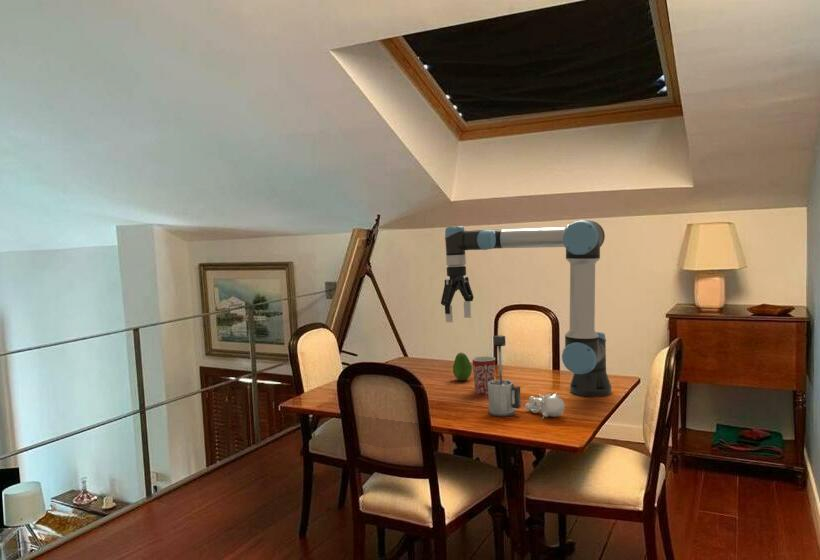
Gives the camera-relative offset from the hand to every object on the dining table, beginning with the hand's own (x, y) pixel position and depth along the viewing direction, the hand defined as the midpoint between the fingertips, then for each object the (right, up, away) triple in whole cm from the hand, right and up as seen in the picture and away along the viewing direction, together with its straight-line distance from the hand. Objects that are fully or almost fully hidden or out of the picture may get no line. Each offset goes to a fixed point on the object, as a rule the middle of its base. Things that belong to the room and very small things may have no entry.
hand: (458, 319), depth 242 cm
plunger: (+12, -21, -31) cm, 40 cm away
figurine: (+27, -30, -35) cm, 53 cm away
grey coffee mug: (+12, -30, -31) cm, 45 cm away
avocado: (+3, -27, +19) cm, 33 cm away
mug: (+10, -28, -1) cm, 30 cm away
